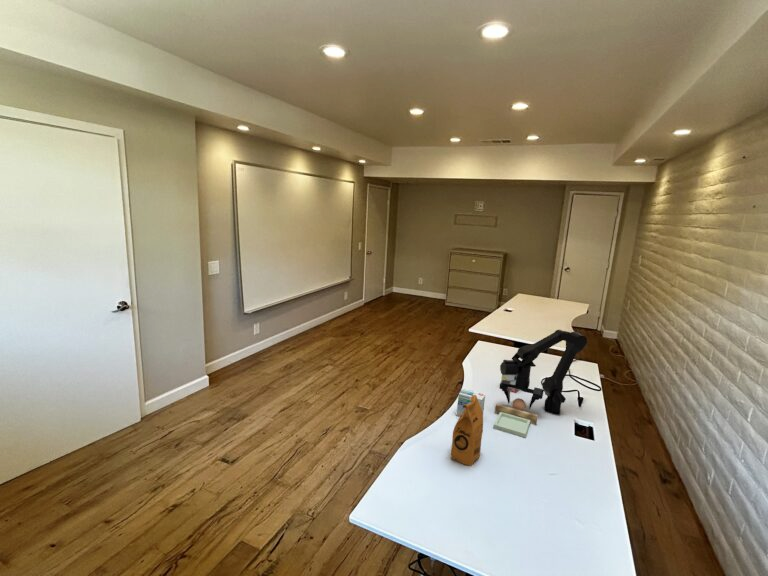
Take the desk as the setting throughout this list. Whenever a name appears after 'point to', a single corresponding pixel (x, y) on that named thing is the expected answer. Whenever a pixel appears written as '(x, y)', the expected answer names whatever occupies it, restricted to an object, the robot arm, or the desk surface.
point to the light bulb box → (468, 400)
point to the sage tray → (512, 424)
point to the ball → (519, 404)
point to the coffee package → (468, 434)
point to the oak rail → (516, 413)
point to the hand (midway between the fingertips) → (519, 406)
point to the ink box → (511, 379)
